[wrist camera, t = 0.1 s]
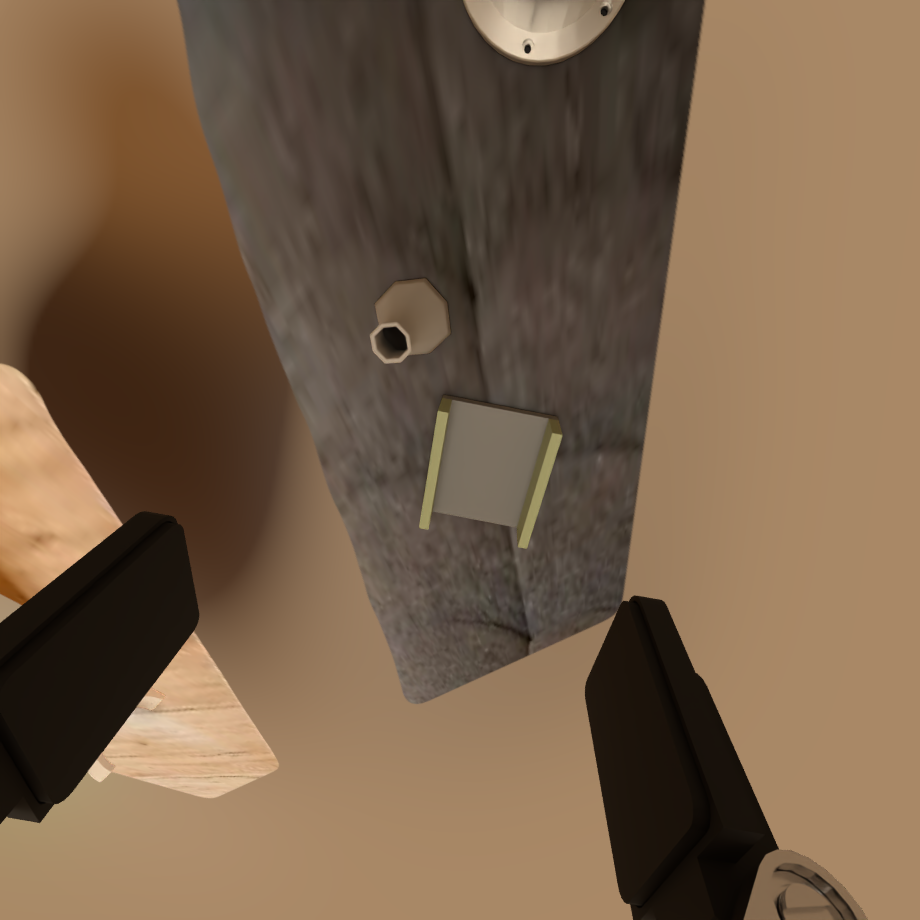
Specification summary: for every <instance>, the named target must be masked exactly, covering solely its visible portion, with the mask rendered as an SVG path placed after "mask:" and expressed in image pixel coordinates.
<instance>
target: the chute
mask: <svg viewBox="0 0 920 920" xmlns="http://www.w3.org/2000/svg"><path fill="white" fill-rule="evenodd" d="M562 436H563V435H562V431H561V427H560V424H559V420H558V417H556V416H551V415H546V414H541V413H536V412H531V411H526V410H520V409H515V408H510V407H505V406H500V405H495V404H490V403H485V402H479V401H474V400H469V399H464V398H459V397H454V396H449V395H443V397H442V400H441V403H440V406H439V409H438V414H437V420H436V426H435V432H434V438H433V445H432V451H431V457H430V463H429V469H428V476H427V482H426V488H425V494H424V500H423V507H422V513H421V519H420V525H419V528H422V529H427V530H428V528H429V524H430V520H431V515H432V511H434V512H439V513H444V514H449V515H454V516H460V517H465V518H470V519H475V520H480V521H486V522H491V523H496V524H501V525H506V526H512V527H517V541H518V547H521V548H526V549H527V546H528V543H529V540H530V537H531V533H532V530H533V527H534V524H535V521H536V518H537V514H538V511H539V508H540V505H541V502H542V499H543V496H544V492H545V489H546V486H547V483H548V480H549V477H550V473H551V470H552V467H553V464H554V461H555V458H556V454H557V451H558V448H559V445H560V442H561V439H562Z"/></svg>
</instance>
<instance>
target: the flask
mask: <svg viewBox="0 0 920 920" xmlns="http://www.w3.org/2000/svg"><path fill="white" fill-rule="evenodd" d="M375 308H376V313H377V318H378V323H379V326H378V327H377V328H376V329H375V330H374V331H373V332H372V333H371V334H370V339H371V344H372V349H373V352H374V353H375V354H376V355H377V356H378V357H379V358H380V359H381V360H382V361H383V362H384V363H385V364H387V363H398V362H402V361H403V360H404V359H405V358H406V357H407V356H408V355H417V354H428V353H431V352H432V351H433V350H434V349H435V348H436V347H437V346H438V345H439V344H440V343H442V342H443V341H444V340H445V339H446V338H447V337H448V336H449V335H450V334H451V329H450V321H449V312H448V304H447V301H446V300H445V299H444V298H443V297H442V296H441V295H440V294H439V293H438V291H437V290H436V289H435V288H434V287H433V286H432V285H431V284H430V282H429V281H428V280H427V279H426V278H422V279H413V280H405V281H396V282H394V283H393V284H392V285H391V287H390V288H389V289H388V290H387V291H386V292H385V293H384V294H383V295H382V296H381V297H380V298H379V299H378V301H377V302H376V303H375Z"/></svg>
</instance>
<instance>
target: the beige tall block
mask: <svg viewBox="0 0 920 920" xmlns="http://www.w3.org/2000/svg"><path fill="white" fill-rule="evenodd" d="M165 696H166V695H164V694H162V693H160V692H158V691H157V690H155V689H153V688H150V690H149V691H148V692H147V694H146V695H145V696H144V698H143V699H142V700H141V702H140V703H139V704H138V706H137V707H139V708H146V709H149V710H151V711H152V710H153V709H154V708H155V707H156V706H157V705H158V704H159V703H160V702H161V701H162V700H163V698H164V697H165ZM114 768H115V765H113V764H111V763H110V762H109V761H108V760H107V759H106V758H105V756H104V755H103V753H101V755H100V756H99V757H98V759H97V760H96V761H95V763H94V764H93V765H92V767H91V768H90V769H89V771H88V773H89V774H90V775H91V776H92V777H93V778H94V779H95V780H97V781H99V782H101V781H102V780H103V779H104V778H106V776H108V775H109V774H110V773H111V772H112V770H113V769H114Z"/></svg>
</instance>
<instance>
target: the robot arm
mask: <svg viewBox="0 0 920 920" xmlns="http://www.w3.org/2000/svg"><path fill="white" fill-rule="evenodd" d="M624 1H625V0H463V3H464V6H465V9H466V11H467V13H468V15H469V17H470V19H471V21H472V23H473V25H474V27H475V28H476V29H477V31H478V32H479V33H480V35H481V36H482V37H483V39H484V40H485V41H486V42H487V43H488V44H489V45H490V46H491V47H492V48H493V49H495V50H496V51H497V52H498V53H499V54H501V55H503V56H505V57H507V58H508V59H510V60H512V61H515V62H518V63H522V64H526V65H542V66H545V65H550V64H554V63H558V62H562V61H564V60H566V59H568V58H571V57H573V56H575V55H577V54H579V53H580V52H581V51H583V50H584V49H585V48H587V47H588V46H589V45H591V44H592V43H593V42H594V41H595V40H596V39H597V38H598V37H599V36H600V35H601V34H602V33H603V32H604V31H605V30H606V29H607V27H608V26H609V25H610V23H611V22H612V20H613V19H614V17H615V16H616V14H617V13H618V12H619V10H620V9H621V7H622V5H623V3H624ZM604 8H605V9H606V10H607V15H606V16H602V15H601V10H602V9H604ZM526 46H529V47H530V48H531V52H530V53H529V54H526V53H525V52H524V48H525V47H526ZM198 620H199V610H198V604H197V599H196V594H195V588H194V583H193V578H192V572H191V567H190V562H189V556H188V551H187V545H186V540H185V535H184V530H183V527H182V526H181V525H179V524H178V523H177V521H176V519H175V518H174V517H172V516H169V515H163V514H158V513H151V512H145V511H144V512H140V513H138V514H136V515H135V516H134V517H132V518H131V519H130V520H129V521H127V522H126V523H125V524H123V525H122V526H121V527H120V528H118V529H117V530H116V531H115V532H113V533H112V534H111V535H110V536H108V537H107V538H106V539H105V540H103V541H102V542H101V543H100V544H98V545H97V546H96V547H95V548H93V549H92V550H91V551H90V552H88V553H87V554H86V555H85V556H83V557H82V558H81V559H80V560H78V561H77V562H76V563H75V564H73V565H72V566H71V567H70V568H68V569H67V570H66V571H65V572H63V573H62V574H61V575H60V576H58V577H57V578H56V579H55V580H53V581H52V582H51V583H50V584H48V585H47V586H46V587H45V588H43V589H42V590H41V591H40V592H38V593H37V594H36V595H35V596H33V597H32V598H31V599H30V600H28V601H27V602H26V603H25V604H23V605H22V606H21V607H20V608H18V609H17V610H16V611H15V612H13V613H12V614H11V615H10V616H8V617H7V618H6V619H5V620H3V621H2V622H1V623H0V824H1V823H2V821H3V820H4V819H5V818H6V817H8V818H14V819H20V820H26V821H32V822H37V823H40V822H41V821H42V820H43V818H44V817H45V816H46V814H47V813H48V812H49V810H50V809H51V808H52V806H53V805H54V804H59V803H60V802H62V801H64V800H65V799H66V798H67V797H68V796H69V795H70V794H71V793H72V792H73V790H74V789H75V788H76V786H77V785H78V783H79V782H80V781H81V780H82V779H83V777H84V776H85V775H86V773H87V772H88V771H89V769H90V768H91V767H92V765H93V764H94V763H95V761H96V760H97V759H98V757H99V756H100V755H101V753H102V752H103V751H104V749H105V748H106V747H107V745H108V744H109V743H110V741H111V740H112V739H113V737H114V736H115V735H116V733H117V732H118V731H119V729H120V728H121V727H122V726H123V724H124V723H125V722H126V720H127V719H128V718H129V716H130V715H131V714H132V712H133V711H134V710H135V708H136V707H137V706H138V704H139V703H140V702H141V700H142V699H143V698H144V696H145V695H146V694H147V692H148V691H149V690H150V688H151V687H152V686H153V684H154V683H155V682H156V680H157V679H158V678H159V676H160V675H161V674H162V672H163V671H164V670H165V668H166V667H167V666H168V665H169V663H170V662H171V661H172V659H173V658H174V657H175V655H176V654H177V653H178V651H179V650H180V649H181V647H182V646H183V645H184V643H185V642H186V641H187V639H188V638H189V637H190V635H191V634H192V633H193V631H194V630H195V628H196V626H197V623H198ZM585 699H586V705H587V711H588V717H589V722H590V727H591V734H592V739H593V745H594V751H595V757H596V762H597V768H598V774H599V780H600V785H601V791H602V797H603V803H604V808H605V814H606V820H607V825H608V831H609V837H610V843H611V848H612V854H613V859H614V865H615V871H616V877H617V883H618V887H619V892H620V895H621V898H622V899H623V901H624V902H625V903H626V904H630V905H631V910H632V916H633V920H868V919H867V918H866V916H865V914H864V912H863V910H862V909H861V908H860V906H859V905H858V904H857V902H856V901H855V900H854V899H853V897H852V896H851V895H850V894H849V892H848V891H847V890H846V888H845V887H844V886H843V885H842V884H841V883H839V882H838V881H837V880H836V879H835V878H834V877H833V876H832V875H831V874H830V873H829V872H828V871H827V870H826V869H824V868H823V867H821V866H820V865H818V864H817V863H816V862H814V861H813V860H811V859H810V858H808V857H806V856H803V855H801V854H799V853H796V852H794V851H790V850H779V848H778V846H777V844H776V841H775V839H774V837H773V835H772V832H771V830H770V828H769V826H768V824H767V821H766V819H765V817H764V814H763V812H762V810H761V808H760V805H759V803H758V801H757V798H756V796H755V794H754V792H753V790H752V787H751V785H750V783H749V780H748V778H747V776H746V774H745V771H744V769H743V767H742V764H741V762H740V760H739V758H738V755H737V753H736V751H735V749H734V746H733V744H732V742H731V740H730V737H729V735H728V733H727V731H726V728H725V726H724V724H723V722H722V719H721V717H720V715H719V713H718V710H717V708H716V706H715V704H714V701H713V699H712V697H711V694H710V692H709V690H708V688H707V686H706V684H705V682H704V680H703V679H702V678H701V677H700V676H699V675H698V674H697V673H695V670H694V668H693V666H692V663H691V661H690V659H689V657H688V654H687V652H686V650H685V647H684V645H683V643H682V640H681V638H680V636H679V633H678V631H677V629H676V626H675V624H674V622H673V619H672V617H671V615H670V612H669V610H668V608H667V606H666V604H665V602H664V601H662V600H659V599H653V598H647V597H641V596H633V597H631V599H630V600H629V602H628V601H623V602H622V603H621V605H620V607H619V609H618V611H617V613H616V616H615V618H614V620H613V622H612V625H611V627H610V629H609V631H608V634H607V636H606V638H605V641H604V643H603V645H602V647H601V650H600V652H599V654H598V656H597V658H596V661H595V663H594V665H593V667H592V670H591V672H590V674H589V677H588V679H587V681H586V686H585Z"/></svg>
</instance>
